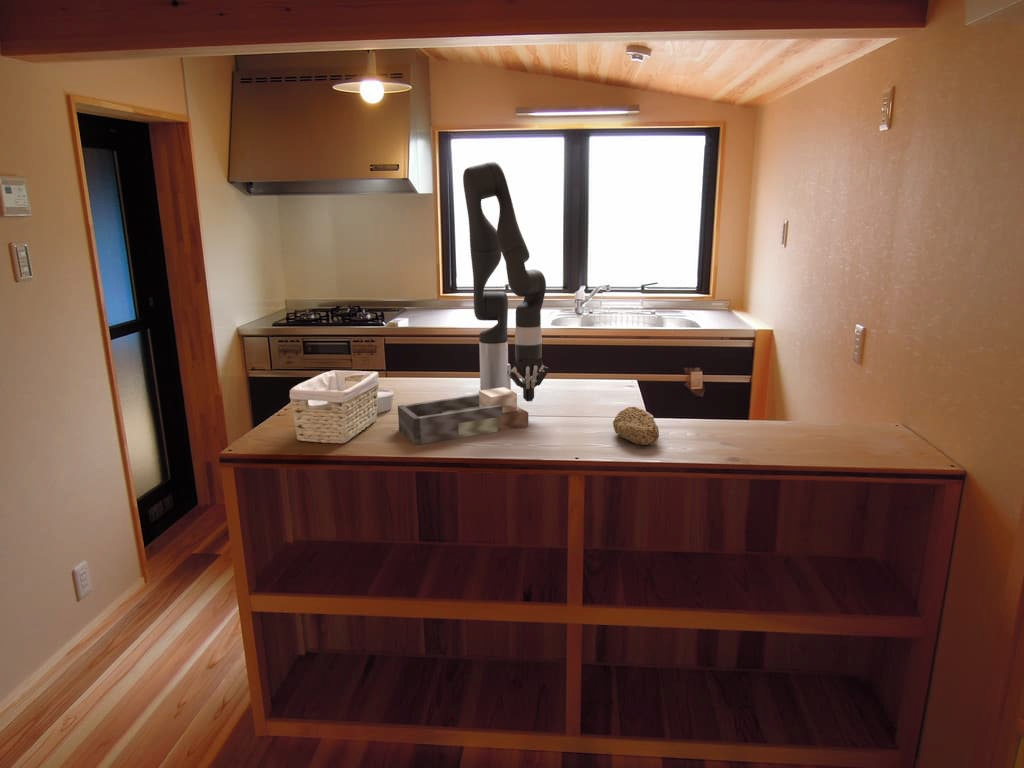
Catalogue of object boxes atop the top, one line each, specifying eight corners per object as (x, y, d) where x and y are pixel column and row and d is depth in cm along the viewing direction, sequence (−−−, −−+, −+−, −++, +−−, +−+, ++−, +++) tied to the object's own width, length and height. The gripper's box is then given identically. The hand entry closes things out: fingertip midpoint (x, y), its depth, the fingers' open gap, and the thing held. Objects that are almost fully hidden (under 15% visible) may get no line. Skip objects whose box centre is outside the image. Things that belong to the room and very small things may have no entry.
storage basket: (332, 417, 203) (328, 368, 200) (384, 419, 200) (381, 370, 196) (290, 443, 181) (285, 389, 177) (348, 447, 177) (344, 392, 174)
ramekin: (398, 404, 215) (397, 388, 214) (389, 415, 204) (388, 398, 203) (363, 404, 216) (362, 388, 215) (352, 414, 205) (351, 397, 204)
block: (504, 403, 200) (504, 387, 199) (517, 410, 193) (516, 393, 192) (479, 407, 196) (478, 390, 195) (491, 414, 190) (490, 397, 188)
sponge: (616, 429, 193) (602, 436, 174) (623, 402, 192) (609, 407, 173) (662, 442, 189) (652, 451, 170) (669, 415, 188) (661, 421, 169)
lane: (506, 413, 204) (505, 390, 203) (528, 426, 192) (528, 402, 190) (399, 430, 190) (397, 405, 188) (415, 445, 178) (414, 419, 176)
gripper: (542, 337, 200) (542, 394, 205) (501, 341, 195) (502, 400, 199) (555, 341, 194) (555, 400, 198) (513, 346, 188) (513, 406, 193)
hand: (528, 400), depth 199 cm, fingers closed
